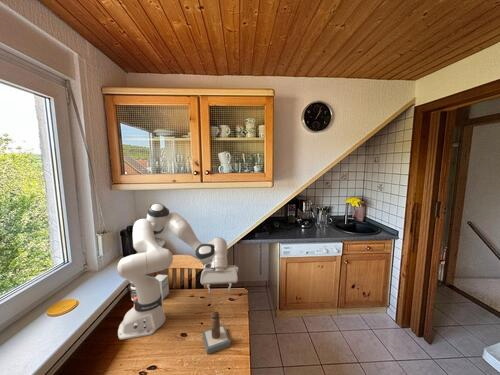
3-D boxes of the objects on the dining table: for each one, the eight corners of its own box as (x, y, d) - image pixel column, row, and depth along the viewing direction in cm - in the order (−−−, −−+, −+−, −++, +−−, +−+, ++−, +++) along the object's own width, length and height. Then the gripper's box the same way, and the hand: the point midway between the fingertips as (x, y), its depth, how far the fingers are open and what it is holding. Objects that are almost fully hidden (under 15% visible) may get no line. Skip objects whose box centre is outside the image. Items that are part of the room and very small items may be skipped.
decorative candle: (148, 297, 137) (144, 260, 134) (131, 303, 132) (127, 264, 129) (145, 290, 145) (142, 255, 141) (130, 295, 140) (126, 258, 136)
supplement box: (162, 300, 134) (161, 281, 133) (152, 299, 136) (150, 280, 134) (169, 293, 142) (168, 275, 140) (159, 292, 143) (158, 274, 141)
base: (207, 354, 97) (207, 349, 96) (202, 336, 107) (202, 331, 106) (230, 345, 101) (230, 340, 101) (224, 329, 111) (224, 324, 111)
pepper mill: (212, 340, 101) (211, 318, 99) (210, 333, 105) (209, 313, 103) (221, 337, 102) (220, 316, 101) (219, 331, 106) (218, 310, 105)
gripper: (238, 266, 126) (239, 292, 118) (202, 268, 125) (200, 295, 117) (237, 263, 121) (238, 290, 113) (200, 265, 120) (198, 293, 112)
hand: (219, 292), depth 115 cm, fingers open, 8 cm apart
